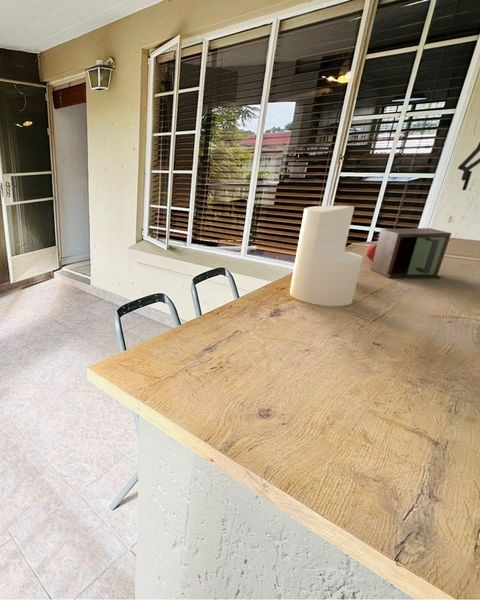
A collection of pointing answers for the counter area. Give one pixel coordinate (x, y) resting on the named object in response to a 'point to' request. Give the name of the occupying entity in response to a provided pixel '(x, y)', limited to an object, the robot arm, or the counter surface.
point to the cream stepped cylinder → (325, 258)
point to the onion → (371, 252)
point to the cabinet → (403, 251)
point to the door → (425, 255)
